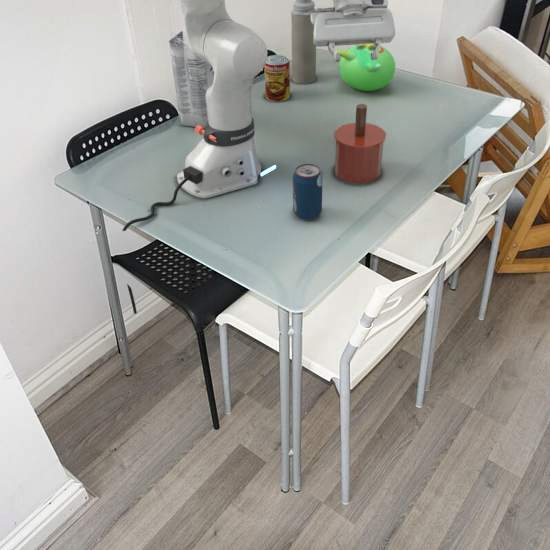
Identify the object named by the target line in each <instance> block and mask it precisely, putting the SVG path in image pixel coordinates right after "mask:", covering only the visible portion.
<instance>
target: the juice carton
mask: <svg viewBox="0 0 550 550" xmlns="http://www.w3.org/2000/svg"><path fill="white" fill-rule="evenodd" d="M168 44H169V50H170V60H171V66H172V67H171V68H172V71H173V72H172V73H173V80H174V86H175V95H176V102H177V109H178V115H179V118H180V122H181V125H182V126H184V127H194V128H196V126H198V125H200V126H202V127H203V128H206V124H207V121H208V114H207V105H206V91H207V89H208V88H209V87H210V86H211V85H212V84H213V79H214V71H213V68H212V66H211V65H210V64H208V63H207V62H205V61H203V60H201V59H199V58H198V57H196V56H195V55H194V54H193V53H192V52H191V51H190V49H189V48H188V47H187V46H186V44H185V42H184V39H183V30H182V31H180V32H179V33H177V34H175V36H174V37H172V38H170V40H168Z"/></svg>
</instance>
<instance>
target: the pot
mask: <svg viewBox="0 0 550 550" xmlns="http://www.w3.org/2000/svg"><path fill="white" fill-rule="evenodd" d="M383 150H384V142H383V143H382V144H380V145H378V146H376V147H372V148H366V149H356V148H350V147H346V146H343V145H341V144H340V143H338V142H337V141H336V140H335V151H334V152H335V153H334V155H335V156H334V174H335V175H336V177H337V178H339V179H340V180H342V181H344V182H347V183H351V184H365V183H366V184H367V183H370V182H372V181H375V180H377V179H378V178H379V176H381V172H382V160H383Z"/></svg>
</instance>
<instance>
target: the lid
mask: <svg viewBox="0 0 550 550" xmlns="http://www.w3.org/2000/svg"><path fill="white" fill-rule="evenodd" d="M367 114H368V105H367V104H365V103H358V104H357V105H356V107H355V121H354V122H351V123H350V122H349V123H346V124H343V125H340V126H339V127H337V128H336V129H335V130H334V134H333V135H334V140H335V142H336V141H337V142H338V143H340V144H341V145H343V146H346V147H350V148H356V149H366V148H372V147H376V146H378V145H380V144H382V143H383V144H384V142H385V141H386V138H387V134H386V132H385V130H384V129H383V128H382V127H380V126H378V125H376V124H374V123H373V124H372V123H369V122H367V116H368V115H367Z"/></svg>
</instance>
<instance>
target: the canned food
mask: <svg viewBox="0 0 550 550" xmlns="http://www.w3.org/2000/svg"><path fill="white" fill-rule="evenodd" d="M290 63H291V62H290V58H289V56H286V55H283V54H272V55H269V56H268V55H267V60H266V63H265V66H264V68H263V69H264V88H265V92H264V93H265V99H266V100H268V101H270V102H275V103H276V102H277V103H278V102H279V103H280V102H285V101H287V100H289V99H290V97H291V75H290V72H291V71H290V70H291V69H290Z"/></svg>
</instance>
